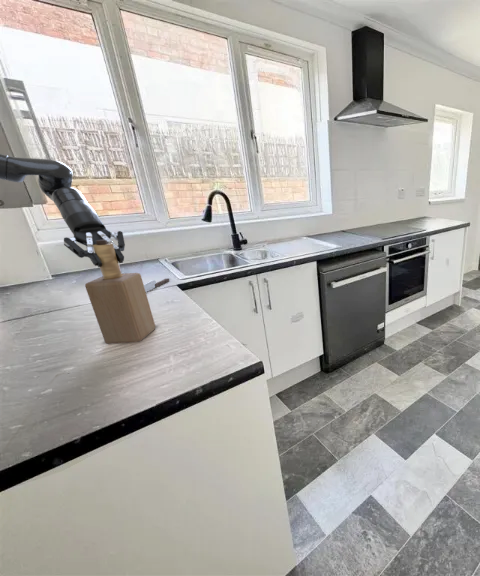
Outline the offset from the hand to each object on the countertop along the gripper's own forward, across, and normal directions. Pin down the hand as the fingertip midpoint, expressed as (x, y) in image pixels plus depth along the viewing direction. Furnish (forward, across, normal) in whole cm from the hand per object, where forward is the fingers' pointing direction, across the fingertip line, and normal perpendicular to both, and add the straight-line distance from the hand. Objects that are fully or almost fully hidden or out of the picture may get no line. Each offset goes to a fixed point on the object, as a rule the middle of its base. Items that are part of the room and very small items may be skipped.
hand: (110, 263), depth 90 cm
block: (+16, 0, -19) cm, 25 cm away
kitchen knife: (-16, -23, -51) cm, 58 cm away
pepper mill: (+2, 0, -5) cm, 5 cm away
